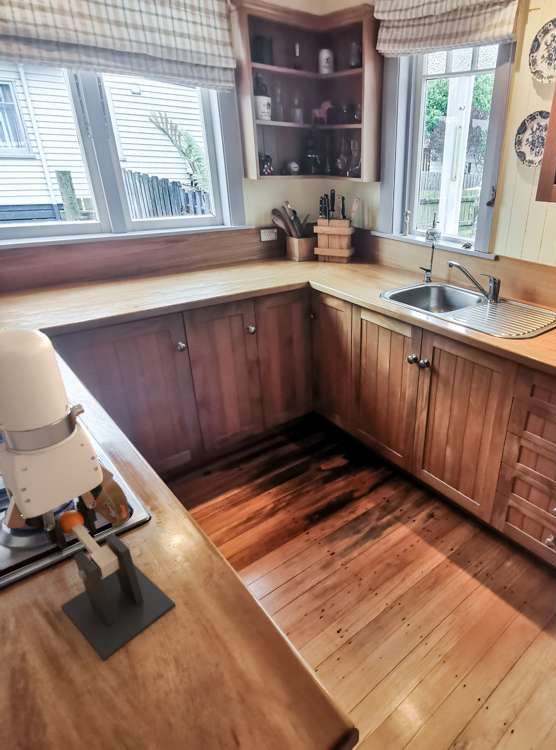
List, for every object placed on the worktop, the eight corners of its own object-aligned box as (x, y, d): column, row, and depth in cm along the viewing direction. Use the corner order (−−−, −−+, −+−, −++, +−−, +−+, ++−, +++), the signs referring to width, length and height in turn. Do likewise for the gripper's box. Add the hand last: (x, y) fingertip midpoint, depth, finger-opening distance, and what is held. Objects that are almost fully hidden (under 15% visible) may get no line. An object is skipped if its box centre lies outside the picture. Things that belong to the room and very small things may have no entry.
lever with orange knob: (55, 529, 66) (50, 514, 64) (79, 516, 68) (75, 501, 66) (99, 583, 61) (95, 568, 59) (123, 567, 63) (121, 553, 61)
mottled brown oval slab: (75, 499, 86) (63, 463, 82) (92, 490, 88) (81, 454, 84) (119, 537, 78) (108, 498, 74) (137, 525, 81) (127, 487, 77)
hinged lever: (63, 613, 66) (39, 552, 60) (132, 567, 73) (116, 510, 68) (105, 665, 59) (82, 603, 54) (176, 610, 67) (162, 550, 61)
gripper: (92, 394, 66) (118, 494, 75) (-54, 445, 54) (-3, 558, 63) (119, 411, 63) (144, 515, 71) (-31, 471, 50) (19, 587, 59)
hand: (74, 534), depth 67 cm, fingers closed on lever with orange knob, 3 cm apart
